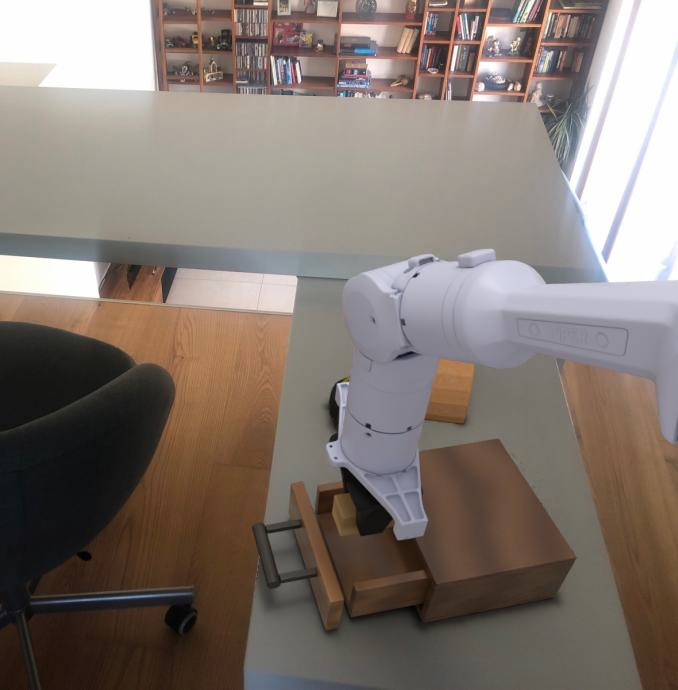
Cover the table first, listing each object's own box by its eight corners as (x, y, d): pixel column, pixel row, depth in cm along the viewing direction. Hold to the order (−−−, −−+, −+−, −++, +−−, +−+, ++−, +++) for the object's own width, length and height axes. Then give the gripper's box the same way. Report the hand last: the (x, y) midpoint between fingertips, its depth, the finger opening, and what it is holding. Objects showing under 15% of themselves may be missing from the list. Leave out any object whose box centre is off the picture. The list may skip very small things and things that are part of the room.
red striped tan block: (385, 503, 61) (390, 484, 59) (396, 527, 59) (401, 508, 58) (331, 513, 61) (334, 494, 59) (340, 537, 59) (343, 518, 57)
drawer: (275, 640, 58) (277, 612, 55) (244, 520, 67) (244, 490, 64) (451, 606, 60) (463, 577, 57) (398, 494, 69) (406, 463, 66)
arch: (410, 417, 78) (425, 350, 72) (408, 310, 93) (421, 247, 87) (463, 424, 77) (484, 357, 71) (453, 314, 92) (469, 251, 86)
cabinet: (422, 623, 60) (436, 584, 56) (369, 499, 70) (377, 457, 66) (554, 597, 61) (577, 557, 57) (483, 479, 71) (498, 437, 67)
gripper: (305, 348, 56) (296, 458, 64) (367, 493, 45) (346, 601, 54) (389, 337, 56) (369, 447, 65) (469, 475, 46) (432, 585, 55)
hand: (364, 515), depth 60 cm, fingers closed on red striped tan block, 2 cm apart
